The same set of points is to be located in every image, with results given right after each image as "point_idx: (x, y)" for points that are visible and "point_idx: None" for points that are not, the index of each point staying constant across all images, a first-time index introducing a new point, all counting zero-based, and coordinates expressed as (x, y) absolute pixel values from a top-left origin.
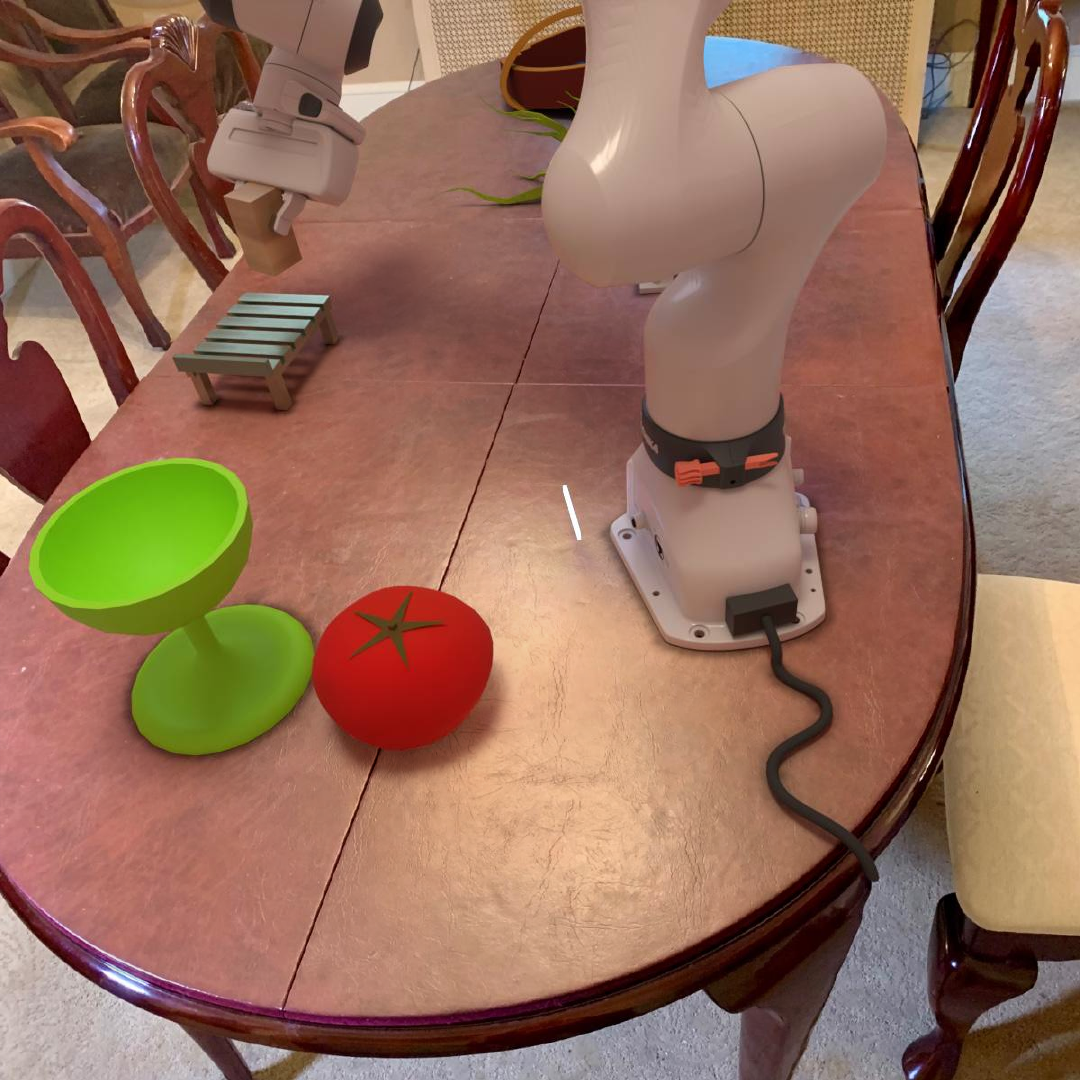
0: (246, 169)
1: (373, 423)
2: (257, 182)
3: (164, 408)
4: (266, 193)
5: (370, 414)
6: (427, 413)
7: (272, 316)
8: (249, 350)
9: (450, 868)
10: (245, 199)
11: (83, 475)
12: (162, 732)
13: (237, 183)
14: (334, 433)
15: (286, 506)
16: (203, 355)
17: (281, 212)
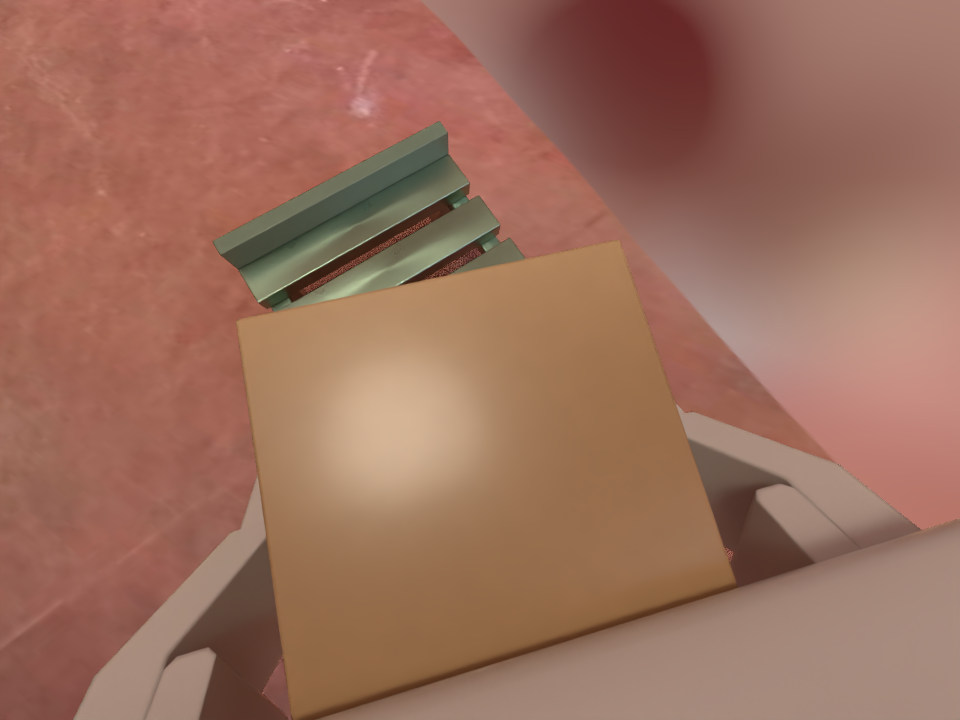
0: (918, 690)
1: (107, 399)
2: (597, 631)
3: (497, 176)
4: (270, 554)
5: (136, 412)
6: (26, 494)
7: None
8: (362, 276)
9: None
10: (350, 328)
11: (431, 27)
12: None
13: (868, 513)
14: (154, 332)
15: (70, 177)
16: (379, 165)
17: (223, 552)
